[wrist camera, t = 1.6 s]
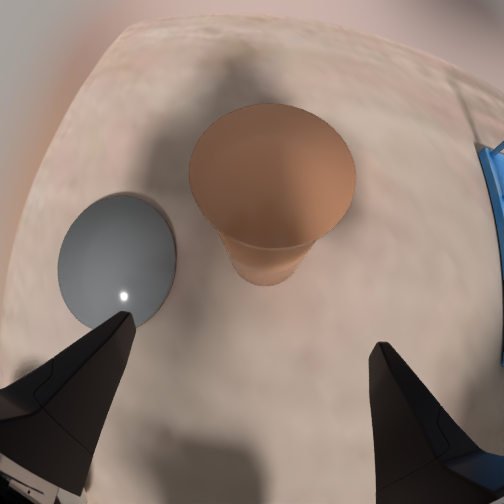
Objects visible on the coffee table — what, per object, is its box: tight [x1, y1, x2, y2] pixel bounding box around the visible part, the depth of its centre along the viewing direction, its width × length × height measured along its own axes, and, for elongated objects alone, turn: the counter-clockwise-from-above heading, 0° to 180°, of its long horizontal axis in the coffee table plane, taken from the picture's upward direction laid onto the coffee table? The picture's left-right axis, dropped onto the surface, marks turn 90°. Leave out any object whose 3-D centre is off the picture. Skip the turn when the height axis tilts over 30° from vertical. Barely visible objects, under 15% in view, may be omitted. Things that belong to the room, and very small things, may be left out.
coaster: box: [58, 196, 176, 329], centre depth 22 cm, size 12×12×1 cm
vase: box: [189, 104, 356, 286], centre depth 16 cm, size 6×6×13 cm
